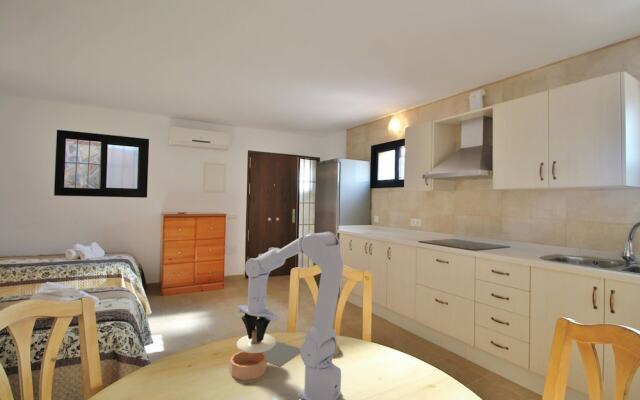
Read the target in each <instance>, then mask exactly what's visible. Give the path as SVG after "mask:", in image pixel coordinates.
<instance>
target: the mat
mask: <svg viewBox="0 0 640 400" xmlns="http://www.w3.org/2000/svg"><path fill="white" fill-rule="evenodd" d="M300 349H301V347H296V346H293V345H289V344H286V343H283V342H280V341H276V344H275V346H274V347H273V348H271V349H270V350H267V351H265V352H264V353H265V355H266V356H267V364H272V365H273V366H277V367H280V368H281V367H283V366H285V364H287V363H288V362H290V361H291V360H292V359H294V358H296V357H297V356H299V355H300Z"/></svg>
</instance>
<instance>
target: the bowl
mask: <svg viewBox="0 0 640 400" xmlns="http://www.w3.org/2000/svg"><path fill="white" fill-rule="evenodd" d="M267 366H268V362H267V356H266V355H265V353H264V352H260V353H246V352H243V351H240V350H239V351H238V352H236V353H234V354H232V355H231V357H230V358H229V366H228V367H229V369H228V370H229V374H230V376H231V377H232V378H234V379H237V380H242V381H247V380H248V381H249V380H254V379H257V378H260V377H262V376H263V375H264V374H265V373H266V371H267Z"/></svg>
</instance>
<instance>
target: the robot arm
mask: <svg viewBox="0 0 640 400" xmlns="http://www.w3.org/2000/svg"><path fill="white" fill-rule="evenodd" d="M341 244H342V243H341V241H340V239H339V238H338V236H336V234H335V233H333V232H332V231H324V232H315V233H307V234H305V235H302V236H300V237H298V238H297V239H295V240H293V241H291V242H290V243H288V244H287V245H284V246H283V247H281V248H279V247H274V246H273V247H269V248H268V251H266V252H264V253H259V254H258V256H257V257H256V258H253V257H252V258H249V259H248V260H247V261H246V262H245V265H244V271H245V274H246V276H248V285H247V286H248V290H247V305H243V304H240V305H238V306H237V313H239V314H241V313H242V314H244V315H243V316H241V320H242V322H243V324H244V326H245V329H246V333H247V335H248V338H249V339H252V330H253V329H257V342H260V341H262V340H263V338H264V334H266V331H267V328H268V326H269V324H270V322H272V323H273V322H276V321H277V319H278V313H275V312H272V311H271V310H270V309H268V307H267V294H268V293H267V290H268V280H269V275H270V274H271V271H274V270H275V269H277V268H280V267H282V266H283V265H285V263H286V260H287V259H289V258H291V257H293V256H296V255H299V254H304V255H305V256H306V257H307V258H308V259H310V260H311V262H312V263H314V264H315V265H316V266H317V267H318V268H319V269H320V270H321V274H320V279H319V286H318V290H317V296H316V301H315V308H314V314H313V319H312V326H311V327H310V329H309V331H308V332H307V334H305V335H306V336H305V337H304V338H305V339H304V342H303V343H302V345H301V346H300V354H299V355H300V358H301V360H302V362H303V365H304V389H303V390H301V392H299V393H298V394H297V397H298V398H300V399H302V400H338V399H339V398H340V396H341V395H342V391H341V390H342V389H341V388H342V370H341V368H340V367H339V366H337V365H335V364H334V363H333V359H334V356H333V354H334V353H335V352H336V350H337V344H338V342H337V331H336V330H335V329H334V328H333V326H334V320H335V315H336V309H337V303H338V299H339V291H340V289H341V287H340V286H341V282H342V281H341V279H342V277H343V276H342V275H343V270H344V269H343V268H344V264H343V263H344V262H343V258H342V254H341Z"/></svg>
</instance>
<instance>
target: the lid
mask: <svg viewBox="0 0 640 400" xmlns="http://www.w3.org/2000/svg"><path fill="white" fill-rule="evenodd" d="M275 344H276V338H275V337H274V336H273V335H270V334H267V333H265V334H264V338H263V340H262V341H260V342H257V329H256V328H255V329H253V330H252V339H249V338H248V334H247V335H244V336H242V337H240V338H239V339H238V340H237V342H236V348H237V349H238V350H239V352H240V351H243V352H246V353H260V352H265V351H267V350H270V349H271V348H273V347H274V346H275Z"/></svg>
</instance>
